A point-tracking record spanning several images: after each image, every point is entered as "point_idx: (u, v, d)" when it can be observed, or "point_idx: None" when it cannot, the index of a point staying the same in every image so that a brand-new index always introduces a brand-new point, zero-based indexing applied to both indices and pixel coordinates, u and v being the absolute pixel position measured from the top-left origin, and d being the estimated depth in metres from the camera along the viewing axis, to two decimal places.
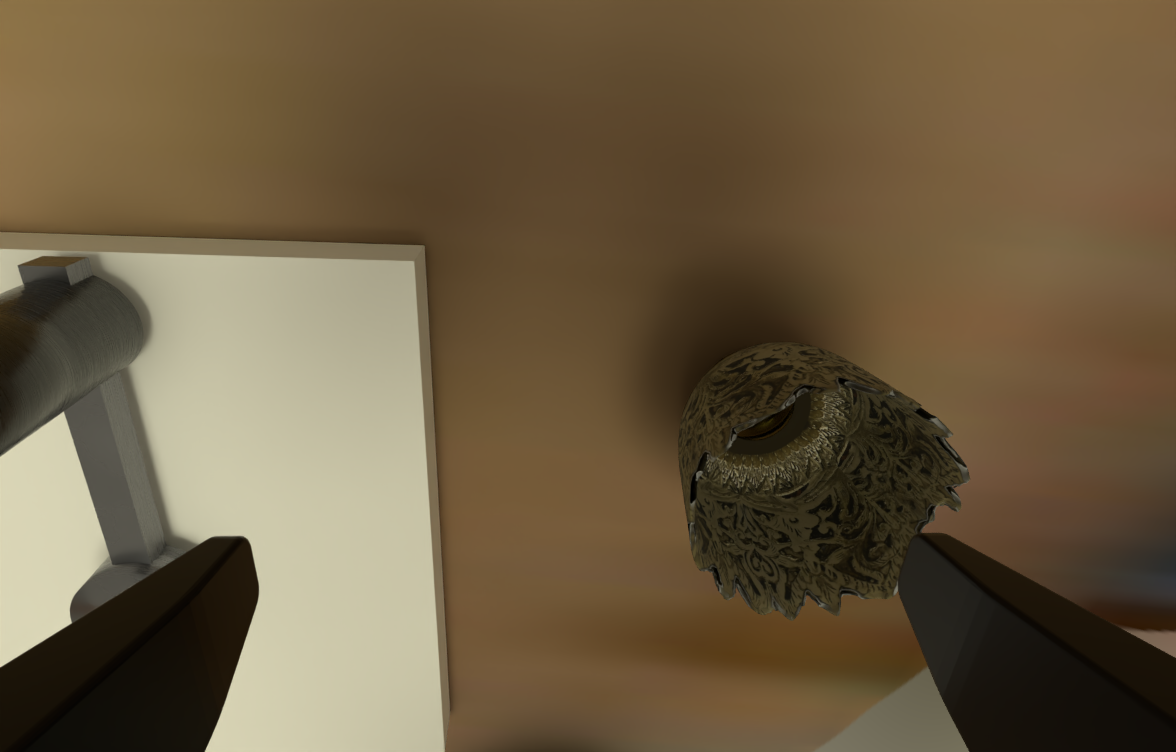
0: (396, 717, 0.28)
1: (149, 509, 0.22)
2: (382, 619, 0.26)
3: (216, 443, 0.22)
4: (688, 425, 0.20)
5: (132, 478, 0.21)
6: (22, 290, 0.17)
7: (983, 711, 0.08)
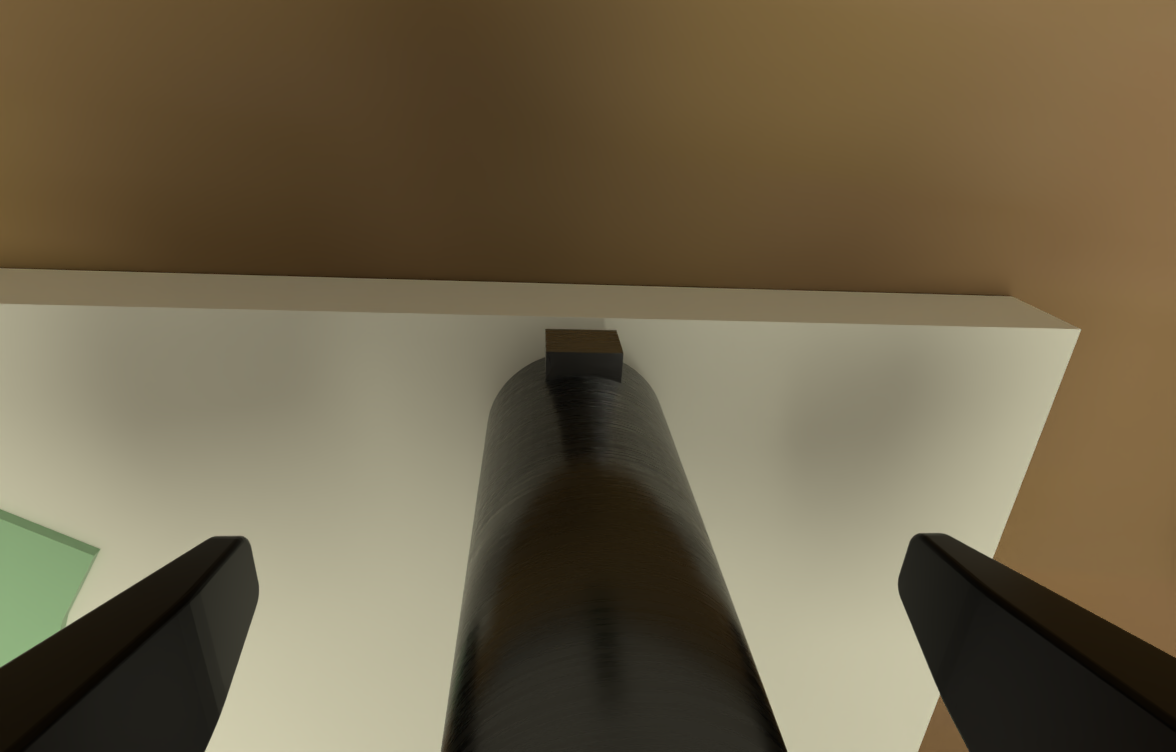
0: None
1: None
2: None
3: None
4: None
5: None
6: (587, 401, 0.10)
7: (983, 711, 0.08)
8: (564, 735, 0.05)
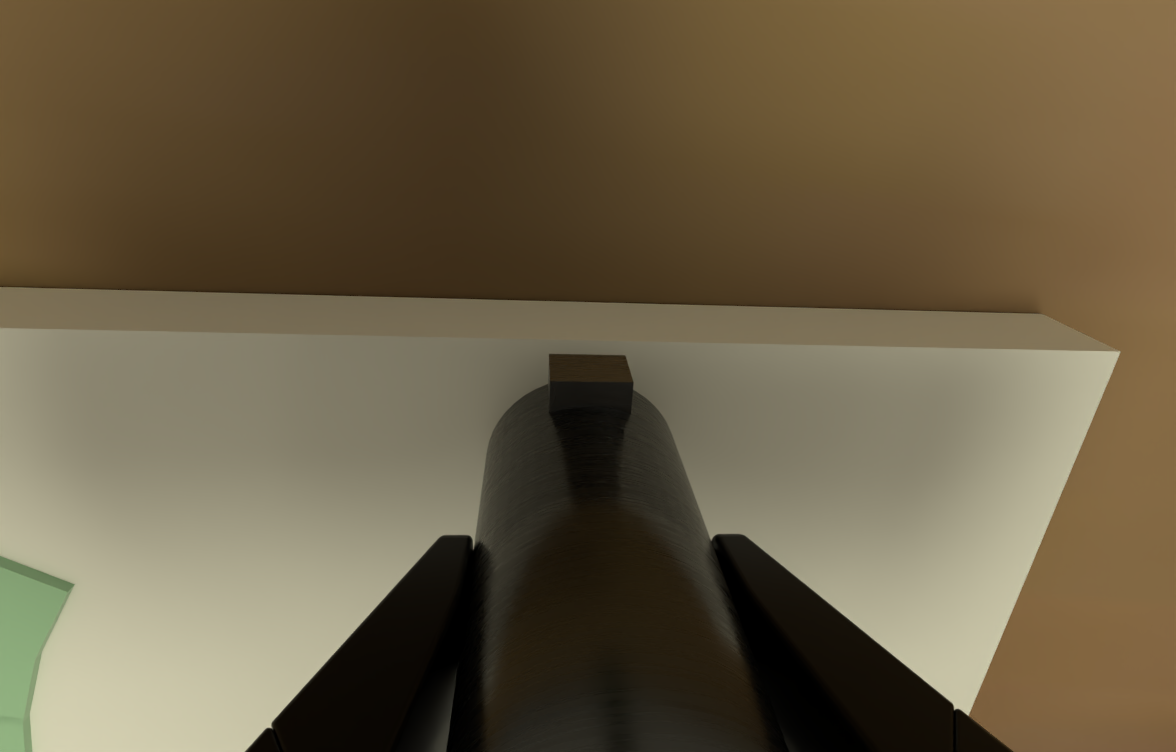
0: None
1: None
2: None
3: None
4: None
5: None
6: (595, 437, 0.09)
7: None
8: None
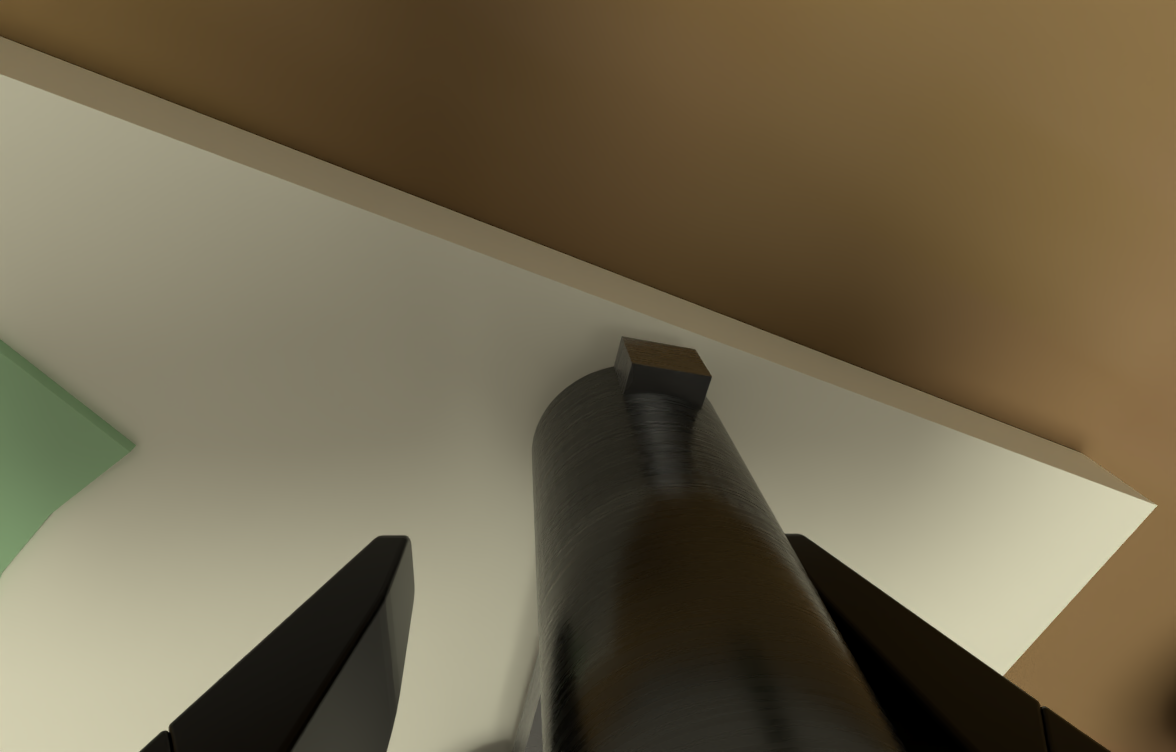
0: None
1: None
2: None
3: None
4: None
5: None
6: (678, 425, 0.09)
7: None
8: None
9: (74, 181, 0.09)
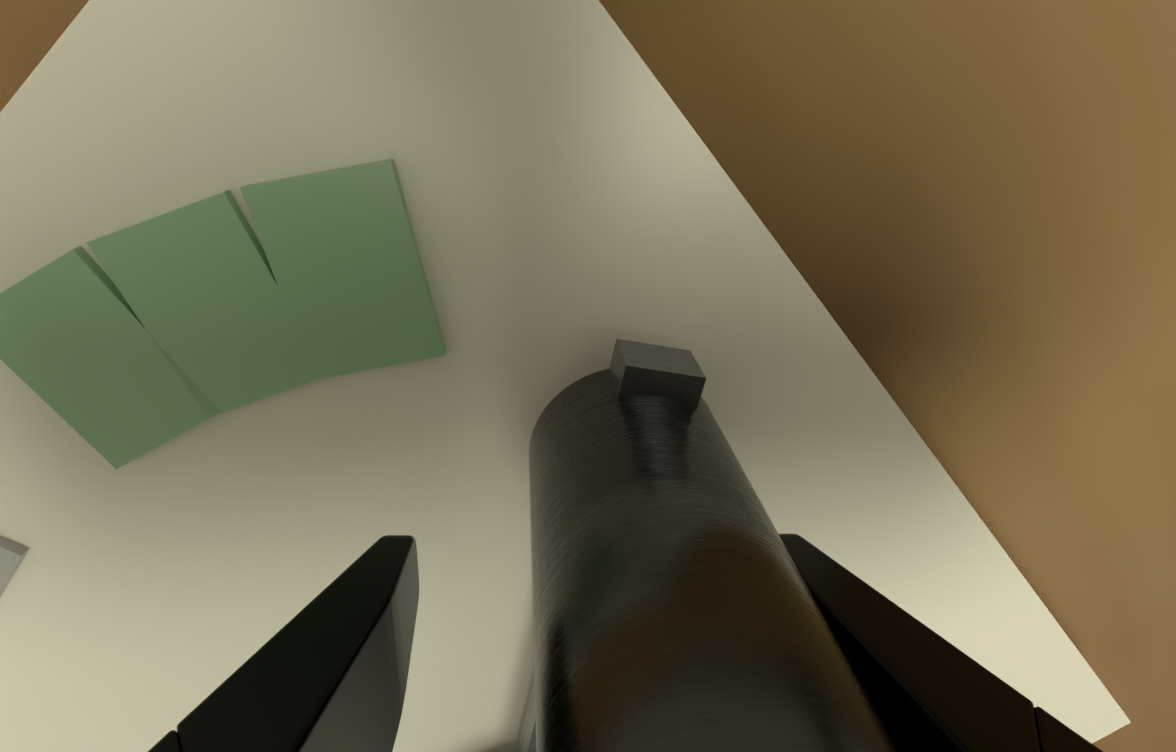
0: None
1: None
2: None
3: None
4: None
5: None
6: (671, 426, 0.09)
7: None
8: None
9: (581, 109, 0.09)
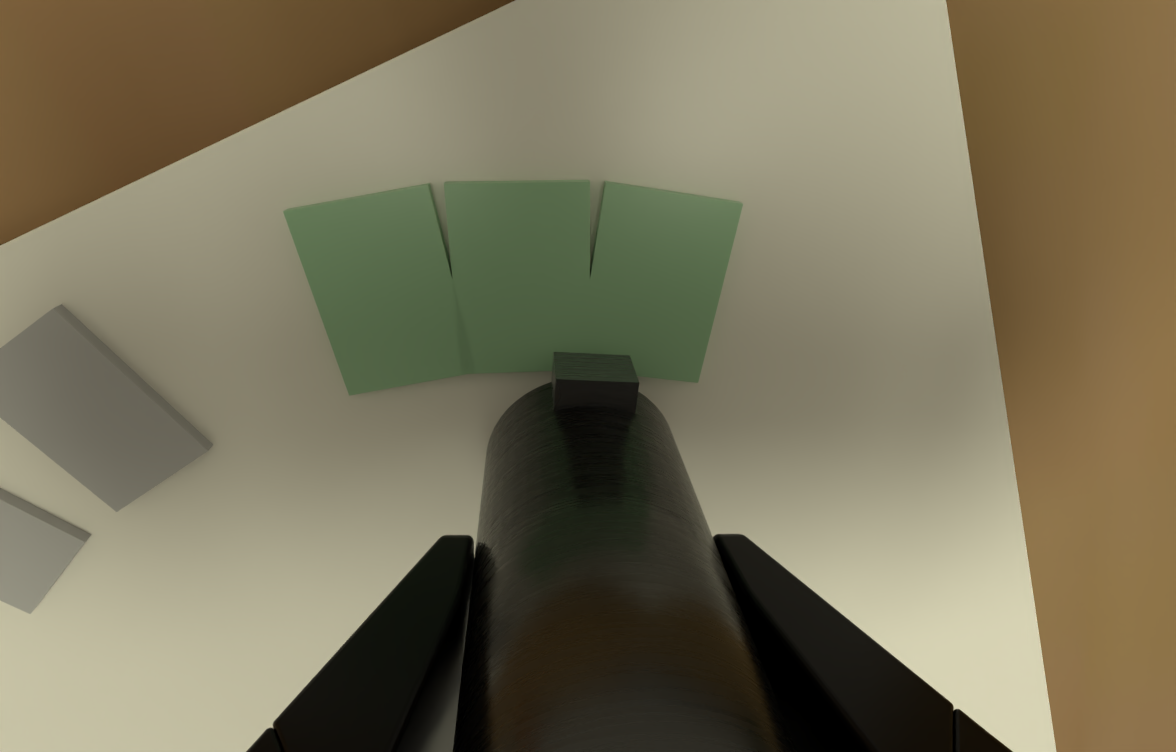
0: None
1: None
2: None
3: None
4: None
5: None
6: (600, 436, 0.09)
7: None
8: None
9: (908, 214, 0.10)
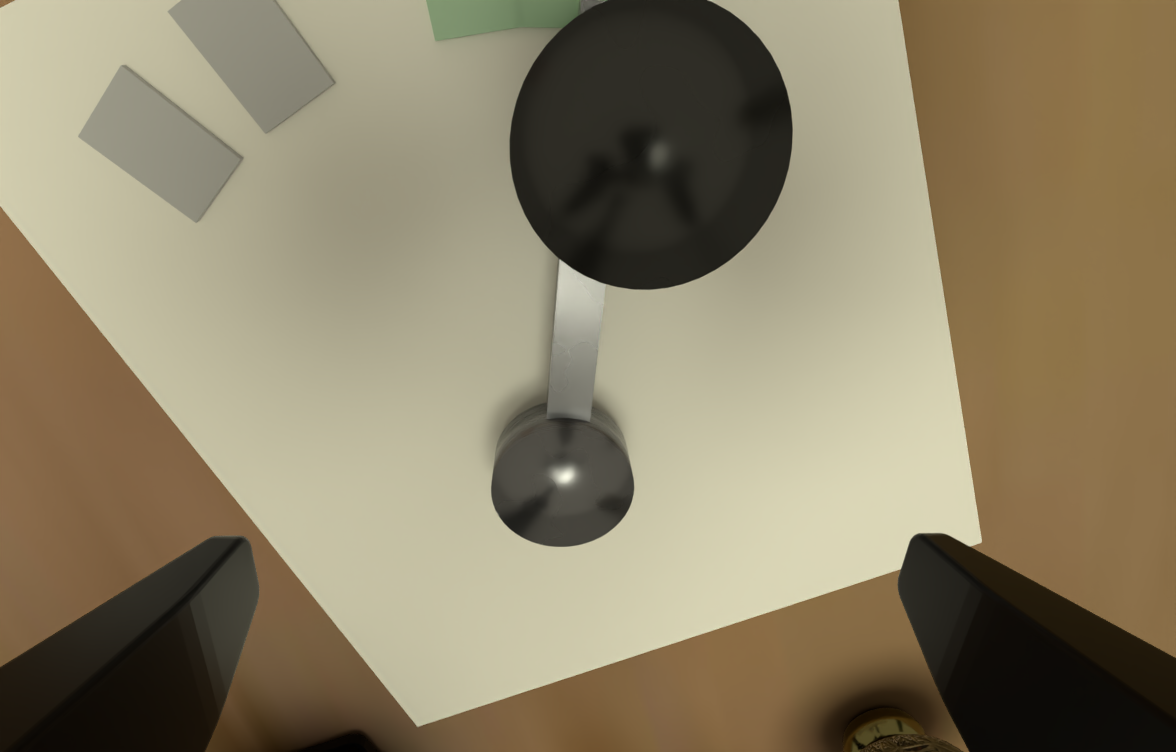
0: (447, 678, 0.24)
1: None
2: (584, 629, 0.24)
3: (756, 453, 0.21)
4: None
5: (601, 310, 0.17)
6: None
7: (983, 711, 0.08)
8: None
9: None
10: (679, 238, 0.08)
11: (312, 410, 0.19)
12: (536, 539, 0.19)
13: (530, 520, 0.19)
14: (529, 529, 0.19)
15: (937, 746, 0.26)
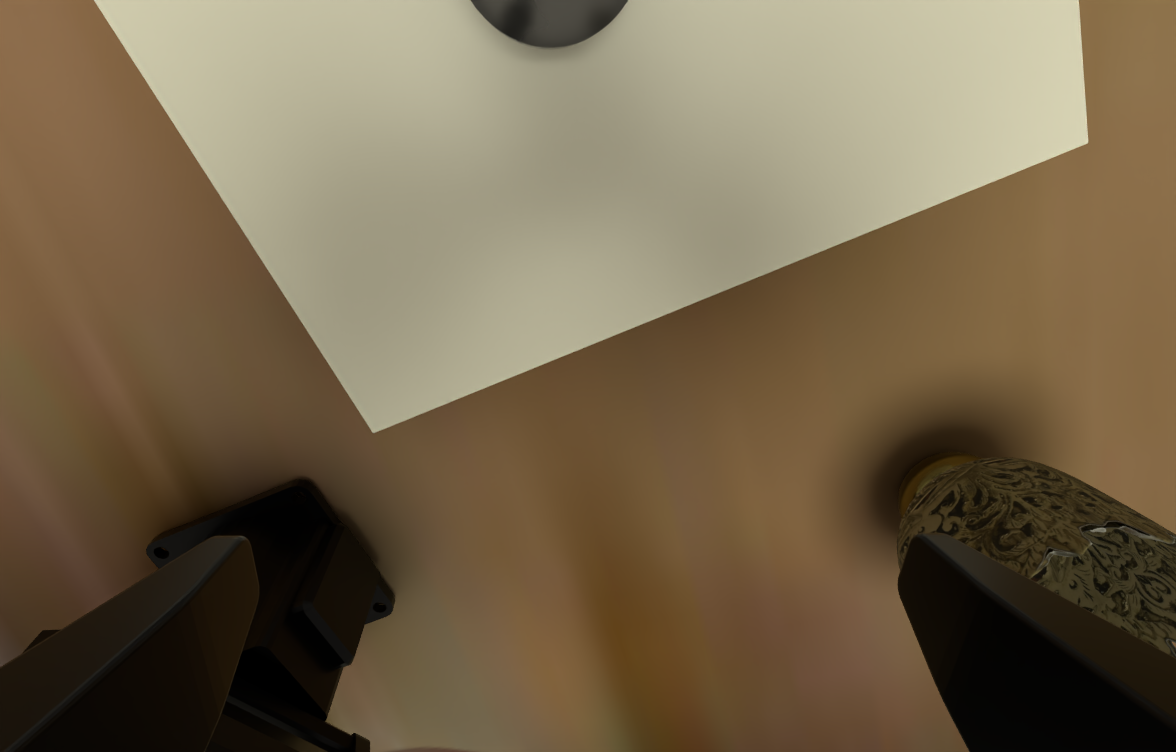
0: (408, 353, 0.19)
1: None
2: (581, 275, 0.19)
3: None
4: (1038, 480, 0.19)
5: None
6: None
7: (983, 711, 0.08)
8: None
9: None
10: None
11: None
12: (513, 31, 0.14)
13: None
14: (502, 10, 0.14)
15: (1024, 460, 0.21)
